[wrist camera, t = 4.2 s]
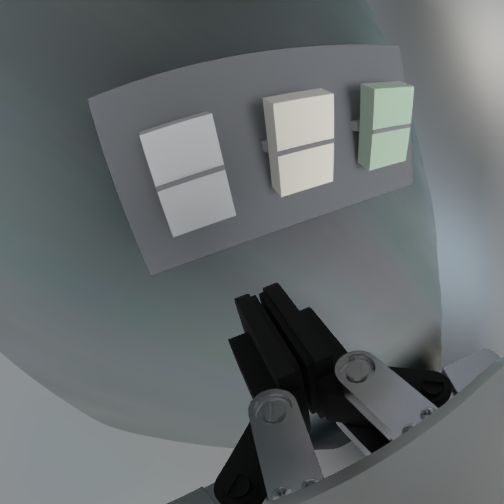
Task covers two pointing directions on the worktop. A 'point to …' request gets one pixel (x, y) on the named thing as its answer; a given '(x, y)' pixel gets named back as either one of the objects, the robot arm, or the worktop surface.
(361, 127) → the rocker sage
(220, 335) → the worktop surface
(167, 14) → the worktop surface
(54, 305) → the worktop surface
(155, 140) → the rocker grey
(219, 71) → the console
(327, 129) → the rocker ivory
